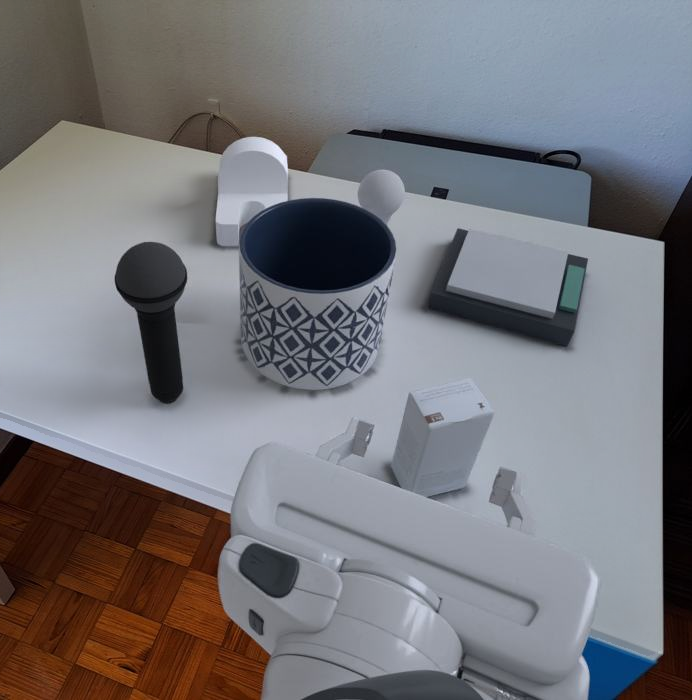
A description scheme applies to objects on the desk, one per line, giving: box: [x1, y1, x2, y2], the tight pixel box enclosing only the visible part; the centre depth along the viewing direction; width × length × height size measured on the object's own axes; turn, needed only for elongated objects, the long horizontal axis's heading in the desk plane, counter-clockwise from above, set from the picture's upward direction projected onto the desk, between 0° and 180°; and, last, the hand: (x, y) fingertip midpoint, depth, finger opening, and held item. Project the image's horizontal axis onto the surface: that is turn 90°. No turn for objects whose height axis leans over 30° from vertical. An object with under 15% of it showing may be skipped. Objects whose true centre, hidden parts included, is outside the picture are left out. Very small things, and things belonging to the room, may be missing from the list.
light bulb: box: [357, 169, 406, 226], centre depth 89 cm, size 6×6×10 cm
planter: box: [238, 197, 398, 391], centre depth 74 cm, size 16×16×14 cm
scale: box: [426, 227, 589, 347], centre depth 83 cm, size 16×14×4 cm
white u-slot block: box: [215, 136, 289, 247], centre depth 95 cm, size 10×18×10 cm, turn 177°
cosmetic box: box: [390, 377, 495, 498], centre depth 62 cm, size 6×4×12 cm
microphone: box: [114, 241, 188, 405], centre depth 67 cm, size 7×7×20 cm
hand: (433, 449), depth 44 cm, fingers open, 8 cm apart
